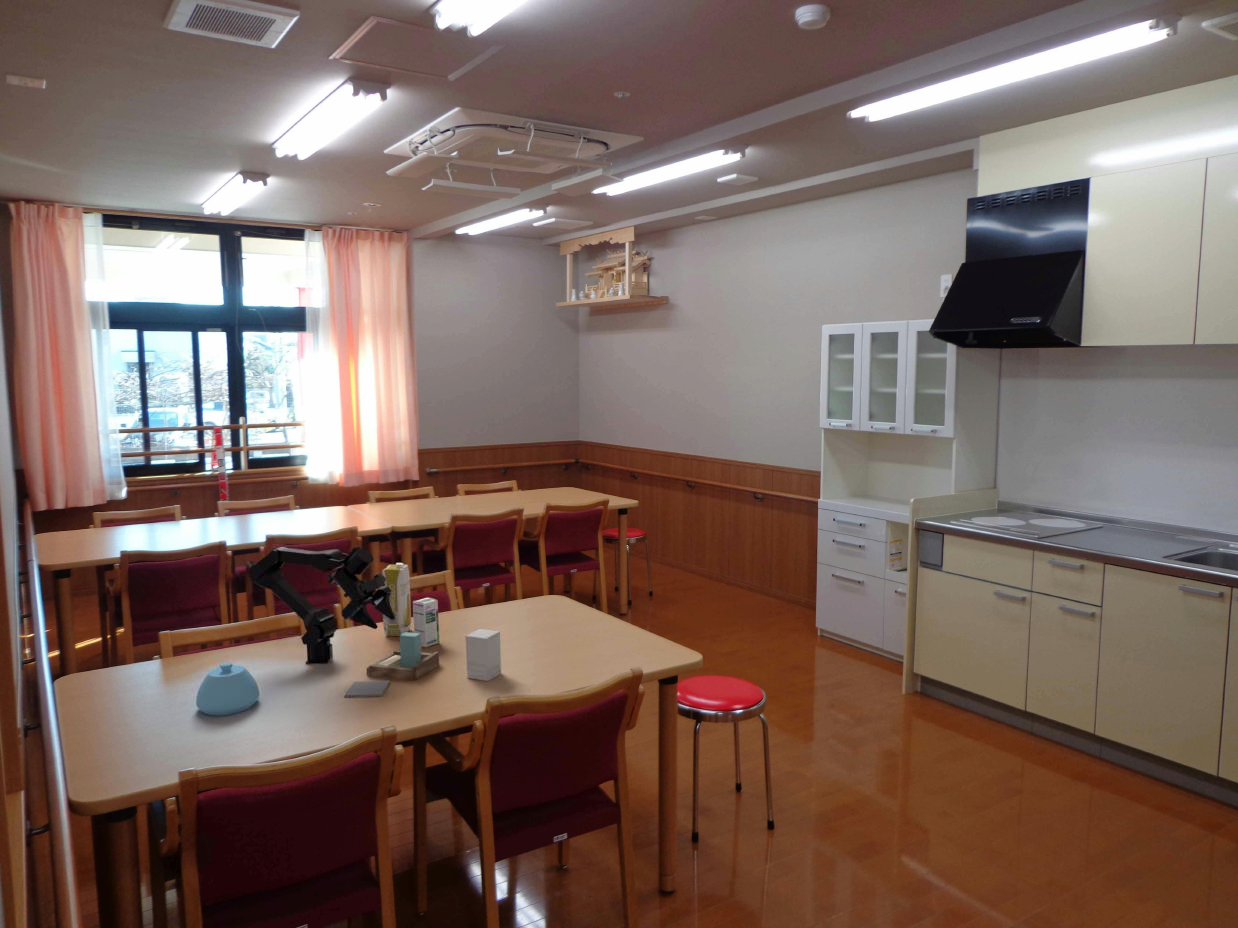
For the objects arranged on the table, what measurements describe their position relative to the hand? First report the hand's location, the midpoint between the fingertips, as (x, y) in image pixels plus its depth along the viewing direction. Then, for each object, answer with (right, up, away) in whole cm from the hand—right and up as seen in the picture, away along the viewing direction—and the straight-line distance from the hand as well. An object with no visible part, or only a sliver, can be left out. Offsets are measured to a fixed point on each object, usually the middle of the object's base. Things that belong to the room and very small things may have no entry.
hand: (385, 623), depth 243 cm
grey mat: (0, -15, -16) cm, 22 cm away
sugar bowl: (-34, -17, -26) cm, 46 cm away
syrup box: (+7, -11, +24) cm, 27 cm away
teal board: (+8, -14, -1) cm, 16 cm away
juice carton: (-6, -10, +35) cm, 37 cm away
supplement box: (+30, -14, -5) cm, 34 cm away
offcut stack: (+2, -14, +1) cm, 14 cm away
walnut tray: (+5, -14, 0) cm, 15 cm away
